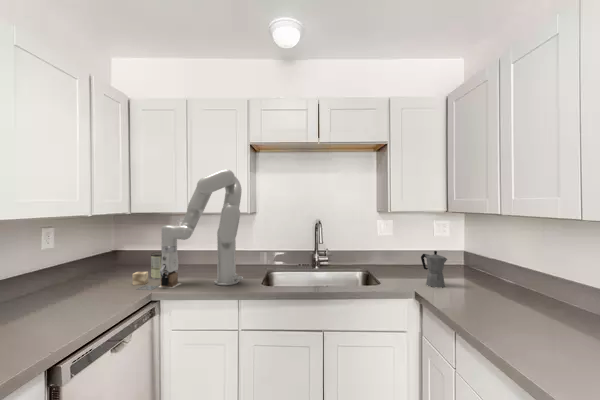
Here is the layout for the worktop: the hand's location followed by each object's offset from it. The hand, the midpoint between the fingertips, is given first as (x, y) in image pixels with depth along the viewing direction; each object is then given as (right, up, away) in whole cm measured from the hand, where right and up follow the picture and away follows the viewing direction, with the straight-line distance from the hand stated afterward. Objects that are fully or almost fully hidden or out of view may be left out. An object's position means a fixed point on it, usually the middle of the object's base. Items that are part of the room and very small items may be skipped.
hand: (169, 283), depth 175 cm
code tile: (0, -1, 0) cm, 1 cm away
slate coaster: (-9, -1, -5) cm, 10 cm away
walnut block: (0, -1, 0) cm, 1 cm away
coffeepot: (+137, -2, +3) cm, 137 cm away
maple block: (-17, -2, +4) cm, 17 cm away
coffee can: (-12, -2, +18) cm, 22 cm away
